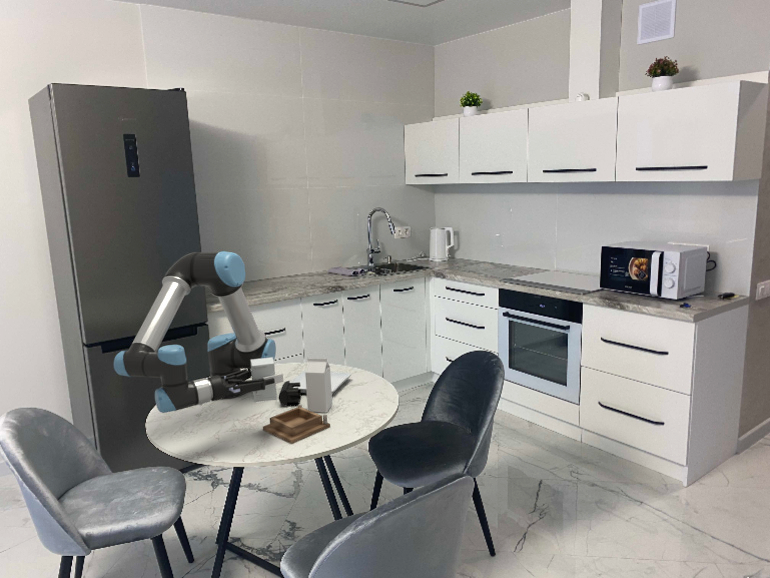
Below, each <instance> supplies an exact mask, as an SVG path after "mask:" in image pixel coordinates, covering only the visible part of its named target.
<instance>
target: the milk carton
mask: <svg viewBox="0 0 770 578" xmlns="http://www.w3.org/2000/svg"><path fill="white" fill-rule="evenodd" d="M305 370H306V371H305ZM305 370H304V371H305V377H306V391H307V393H306V404H307V410H309V411H312V412H314V413H327V412H328V411H329V410H330V408H332V406H333V394H332V390H331V374H330V371H331V365H330V364H329V363H328V359H327V358H314V357H313V358H310V357H307V363H306V368H305Z"/></svg>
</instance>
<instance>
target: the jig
mask: <svg viewBox="0 0 770 578" xmlns="http://www.w3.org/2000/svg"><path fill="white" fill-rule="evenodd" d="M302 406H303V405H302V404H299V405H298V406H296V407H295V408H292V409H289V410H287V411H284V412H281V413H279V414H276V415H273V416H271V417H269V424H266V425H262V430H263V431H264V432H265V433H269V434H270V435H272V436H275V437H277V438H279V439H281V440H282V441H284V442H287V443H290V444H291V445H292V444H295V443H297V442H299V441H302V440H304V439H306V438H308V437H311V436H313V435H315V434H318V433H320V432H323V431H324V430H327V429H329V428H331V423H330V422H328V415H327V414H323V415H321V414H318V413H317V412H312V411H309V410H308V408H307V409H306V408H304V407H302Z"/></svg>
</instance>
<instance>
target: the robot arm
mask: <svg viewBox="0 0 770 578" xmlns="http://www.w3.org/2000/svg"><path fill="white" fill-rule="evenodd" d="M245 270H246V266H245V263H244V260H243V259H242V257H241V256H240V255H239V254H238V253H235V252H231V251H224V250H223V251H201V252H200V251H194V252H190V253H187V254H185V255H183V256H182V257H180V258H179V259H178V260H177V261H175V262H174V263H173V264H172V266H171V267H169V269H168V270H167V272H165V274H164V276H163V278H162V280H161V283H162V287H161V289H160V290H159V293H158V294H157V297H156V298H155V300H154V302H153V303H152V305H151V308H150V309H149V311H148V313H147V314H146V317H145V318H144V321H143V322H142V325H141V327H140V328H139V330H138V332H137V333H136V335H135V338H134V339H133V342H132V343H131V345H130V347H129V349H128V350H121V351H120V352H118V353H117V354H116V355H115V357H114V359H113V369H114V372H116V374H118V375H119V376H122V377H123V376H124V377H129V378H134V377H136V378H137V377H139V378H141V377H142V378H143V377H144V378H157V379H158V378H159V379H160V381H161V383H160V384H161V387H159V388H156V389H155V391H154V400H155V401H154V402H155V405H156V408H157V410H158V412H160V413H161V414H165V413H166V414H167V413H171V412H177V411H180V410H183V409H184V410H185V409H187V408H191V407H196V406H203V404H207V403H210V402H216V401H220V400H226V399H233V398H238V397H239V396H243V395H244V394H246V393H251V392H252V393H253V391H259V390H265V386H269V385H273V384H281V383H284V374H283V373H278V374H275V375H273V376H269V377H264V378H263V379H259V380H252V374H251V361H250V360H252V359H262V358H271V357H273V360H274V361H275V359H276V352H277V345H276V342H275V340H274V339H271V338H267V337H266V336H267V335H266V334H265V333H264V331H263V330H261V329H259V328H258V325H257V322H256V320H255V317H254V316H253V313H252V311H251V309H250V306H249V303H248V301H247V298H246V296H245V294H244V292H243V289H242V287H243V285H244V282H245V280H246V274H247V273H246V271H245ZM195 287H208V290H209V291H210V293H211V295H212V296H214V297H216V298H218V300H219V303H220V304H221V307H222V309H223V312H224V313H225V316H226V319H227V321H228V322H229V325H230V327H231V329H232V331H233V332H229V333H223V334H219V335H216V336H213V337H211V338H210V339H209V340H208V342H207V353H208V364H209V374H210V376H209V377H207V378H206V377H203V378H200V379H196V380H192V381H189V375H188V368H187V367H188V365H187V356H186V352H185V348H184V347H183V346H182V345H180V344H169V345H164V346H161V344H162V341H163V340H164V338H165V335H166V333H167V332H168V330H169V327H170V325H171V324H172V322H173V319H174V318H175V316H176V313H177V311H178V310H179V308H180V306H181V304H182V301H183V300H184V297H185V296H188V295H189V294H190V293H191V291H192V289H193V288H195ZM160 346H161V347H160ZM159 347H160V348H159Z"/></svg>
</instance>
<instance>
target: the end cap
mask: <svg viewBox="0 0 770 578" xmlns="http://www.w3.org/2000/svg"><path fill="white" fill-rule="evenodd" d="M290 382H291V381H290V380H286V381H285V382H283V384H282V386H281V388H280V391H279V393H278V401H279V403H280V404H282V405H284V406H285V407H287V408H288V407H290V408H291V407H298V405H300V402H301V398H302V395H301V394H302V393H301V390H298V388H293V387H300V382H299V383H290Z"/></svg>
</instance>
